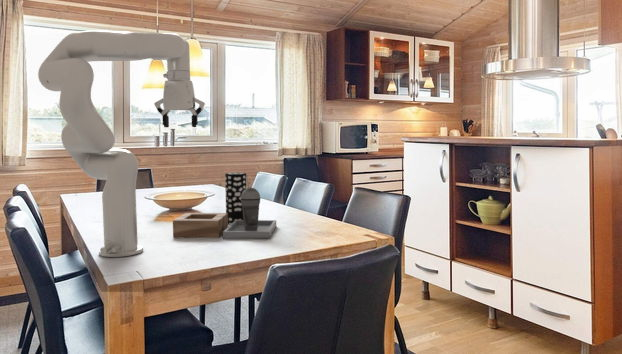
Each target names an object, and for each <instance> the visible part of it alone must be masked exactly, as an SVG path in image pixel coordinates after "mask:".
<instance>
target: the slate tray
mask: <svg viewBox="0 0 622 354" xmlns="http://www.w3.org/2000/svg"><path fill="white" fill-rule="evenodd" d="M276 229H277V219H276V220H274V219H273V220H272V219H269V220H266V219H265V220H263V219H261V220H260V219H258V227H257V231H245V227H244V220H235V221H234V222H233V223H232V224H231V225H230V224H229V225H228V227H227V228H226V229H225V230H224V231H223V234H222V239H223V240H271V237H272V236H273V233H274V232H275V230H276Z"/></svg>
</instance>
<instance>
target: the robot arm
mask: <svg viewBox="0 0 622 354" xmlns="http://www.w3.org/2000/svg"><path fill="white" fill-rule="evenodd" d="M190 57H191V56H190V44H189V41H187V40H184V38H183V37H182V36H181V35H179V34H177V33H170V32H167V33H165V32H141V31H139V32H138V31H137V32H136V31H114V30H113V31H111V30H110V31H109V30H85V31H84V30H83V31H76V32H72V33H69V34H68V35H65V37H63V38H62V40H60V42H59V43H58V44H56V46H55V47H54V49H53V50H52V51H51V52H50V53H49V55H48V56H47V57H46V58H45V59H44V60H43V62H42V63H41V64H40V66H39V68H38V72H37V75H38V80H39V83H40V84H41V86H42V87H44V88H45V89H46V90H48V91H51V92H60V94H59V111H60V114H61V116H62V118H63V120H64V121H65V123H66V124H65V126H64V127H63V129H62V130H61V134H60V137H61V138H60V139H61V144H62V145H63V148H64V149H65V151H66V152H67V153H68V154H69V156H70V157H71V158H72V160H73V161H74V162H75V163H76V164H77V166H79V168H80V169H81V170H82V171H83V173H85V175H87V176H88V177H89V178H92V179H95V180H103V181H105V182H104V183H105V185H104V187H103V190H102V194H101V195H102V196H101V200H102V201H101V202H102V222H103V224H102V225H103V243H104V245H103V246H102V247H101V248H100V249H99V250H98V254H99V256H101V257H105V258H120V257H121V258H123V257H130V256H134V255H135V256H136V255H138V254H141V253H142V252H143V251H144V246H143V245H140V244H139V242H138V217H137V216H138V215H137V194H136V193H137V191H136V190H137V178H138V172H139V162H138V157H136V155H135V154H134V153H133V152H132V151H130V150H127V149H123V148H114V146H115V142H116V138H115V134H114V132H113V131H112V129H111V128H110V127H109V125H108V124H107V122H106V121H105V120H104V119H103V118H104V117H102V116H101V114H100V113H99V111H98V110H97V108H96V106H95V104H94V103H93V100H92V86H93V82H94V77H95V74H94V69H93V67H92V65H91V64H90V62H133V61H143V60H147V59H148V60H149V59H151V60H154V61H166V64H167V65H166V73H163V74H162V75H163V78H165V79H167V80H165V81H164V84H163V96H162V97H163V98H160V99H159V100H157V101H155V102H154V107H155V108H156V110H157V112H158V113H159V114H160V115H161V117H162V125H163V127H164V128H169V127H170V118H169V113H170V112H171V111H190V112H191V114H192V115H191V127H192V128H197V125H198V124H199V123H198V120H199V119H198V116H199V114H201V112H203V109H204V107H205V105H206V103H205V102H204V101H203V100H200V99H198V98H196V97H195V96H196V95H195V90H194V84H193V81H192V80H191V64H190V59H191V58H190ZM196 104H198V105H199V106H198V108H196ZM161 105H162V107H163V108H162V107H161Z"/></svg>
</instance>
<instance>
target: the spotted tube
mask: <svg viewBox="0 0 622 354" xmlns="http://www.w3.org/2000/svg"><path fill="white" fill-rule="evenodd" d="M224 178H225V180H224V181H225V182H224V183H225V213H228V225H229V226H230V225H231V224H232V223H233V222H234V221H235V220H244V219H243V209H242V203H241V195H242V192H243V191H244V190H245V189H247V172H226V173H225V174H224Z"/></svg>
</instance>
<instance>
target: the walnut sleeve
mask: <svg viewBox="0 0 622 354" xmlns="http://www.w3.org/2000/svg"><path fill="white" fill-rule="evenodd" d="M227 227H229V224H228V213H226V212H185V213H183V214H182V215H179V216H178V217H176V218H174V219H173V220H172V238H194V239H195V238H198V239H199V238H204V239H205V238H206V239H207V238H209V239H210V238H211V239H212V238H213V239H215V238H217V239H218V238H220V237H221V236H223V231H224V230H225V229H226V228H227Z"/></svg>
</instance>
